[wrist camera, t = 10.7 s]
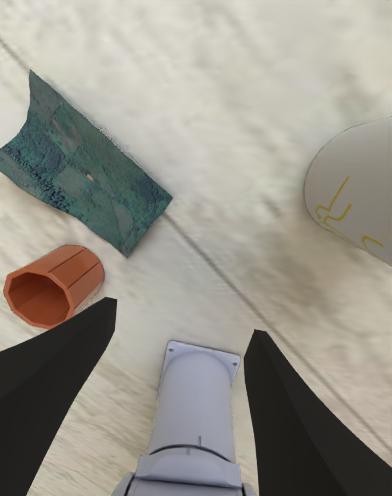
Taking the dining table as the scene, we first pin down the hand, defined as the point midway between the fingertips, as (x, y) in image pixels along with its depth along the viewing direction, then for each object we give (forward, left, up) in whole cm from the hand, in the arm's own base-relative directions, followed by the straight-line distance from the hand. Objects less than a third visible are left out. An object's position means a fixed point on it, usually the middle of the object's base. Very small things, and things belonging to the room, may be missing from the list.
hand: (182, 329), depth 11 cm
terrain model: (+5, +10, -10) cm, 15 cm away
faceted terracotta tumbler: (-4, +11, -9) cm, 15 cm away
